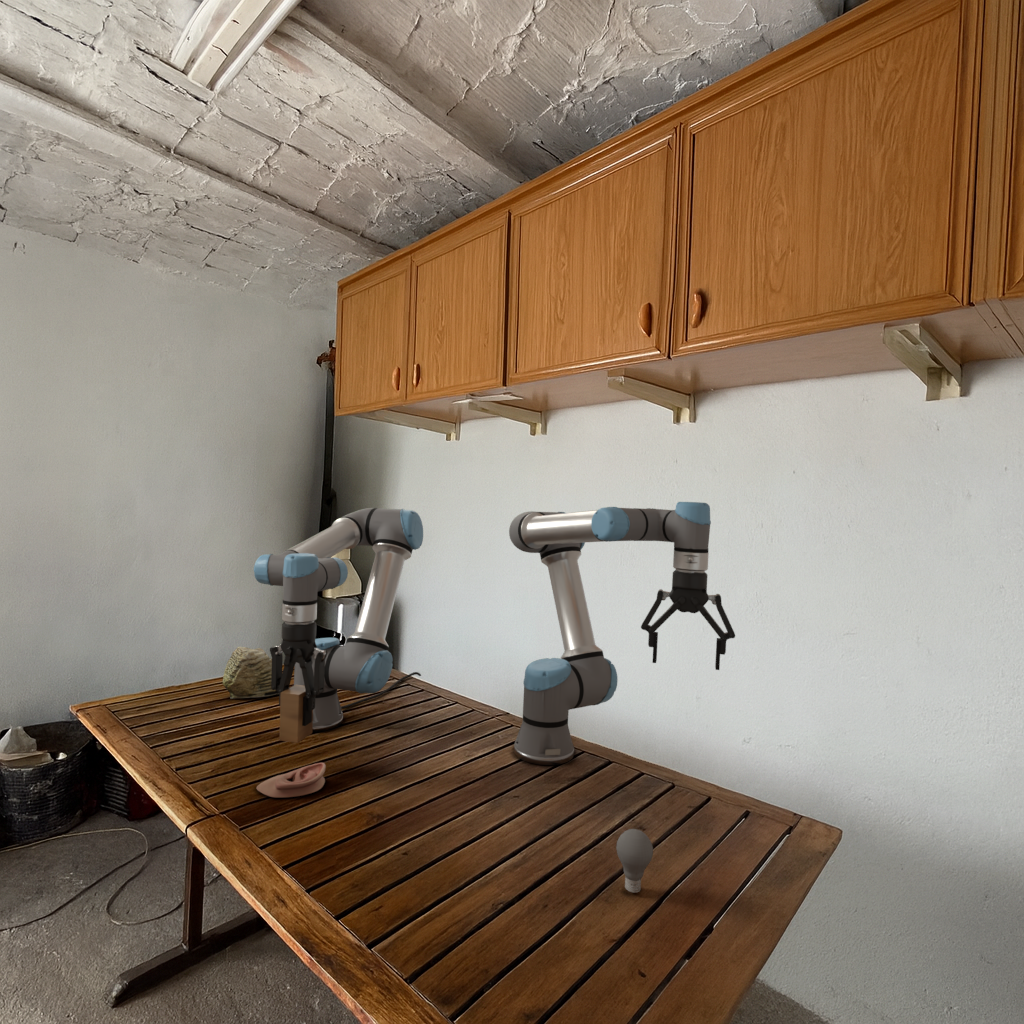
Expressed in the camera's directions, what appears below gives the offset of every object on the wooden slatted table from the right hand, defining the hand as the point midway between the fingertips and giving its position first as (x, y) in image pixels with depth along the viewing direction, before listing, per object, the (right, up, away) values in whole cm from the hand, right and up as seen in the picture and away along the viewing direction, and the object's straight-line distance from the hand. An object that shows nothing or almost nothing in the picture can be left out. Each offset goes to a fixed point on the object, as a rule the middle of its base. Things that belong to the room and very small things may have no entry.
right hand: (685, 665), depth 142 cm
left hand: (-88, -14, +3) cm, 90 cm away
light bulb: (-19, -29, -36) cm, 50 cm away
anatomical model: (-87, -25, -5) cm, 91 cm away
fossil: (-120, -23, +56) cm, 134 cm away
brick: (-89, -17, +3) cm, 90 cm away
